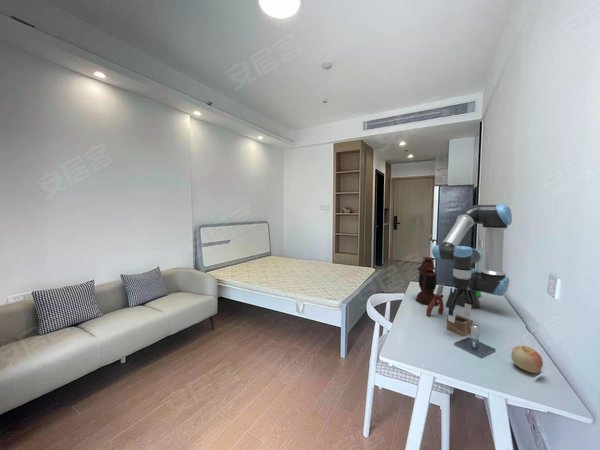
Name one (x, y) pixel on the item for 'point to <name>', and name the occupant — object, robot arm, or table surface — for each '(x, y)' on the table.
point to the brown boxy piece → (460, 325)
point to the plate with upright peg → (475, 344)
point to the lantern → (427, 282)
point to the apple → (527, 359)
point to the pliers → (437, 298)
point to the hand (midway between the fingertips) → (459, 319)
